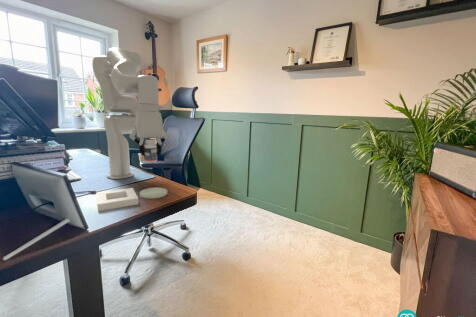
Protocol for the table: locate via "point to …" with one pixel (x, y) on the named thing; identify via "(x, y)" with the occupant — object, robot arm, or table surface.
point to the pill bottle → (150, 151)
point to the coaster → (153, 193)
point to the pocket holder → (116, 199)
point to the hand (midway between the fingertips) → (150, 154)
